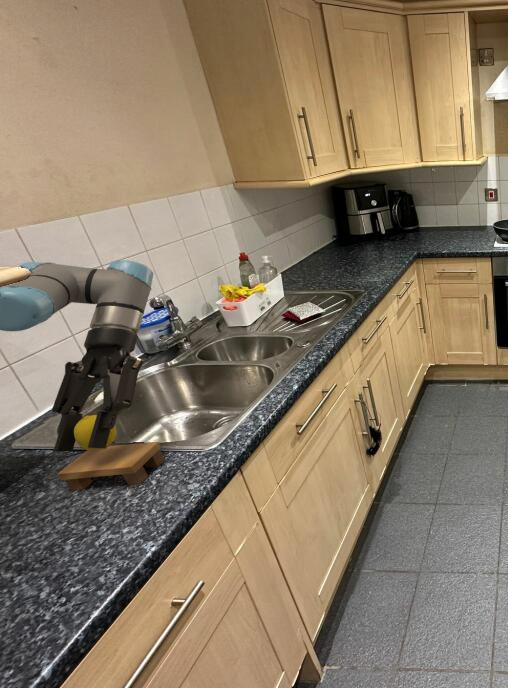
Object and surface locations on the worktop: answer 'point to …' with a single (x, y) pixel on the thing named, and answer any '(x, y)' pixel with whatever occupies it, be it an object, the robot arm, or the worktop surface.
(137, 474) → the serving board
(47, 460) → the worktop surface
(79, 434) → the lemon
